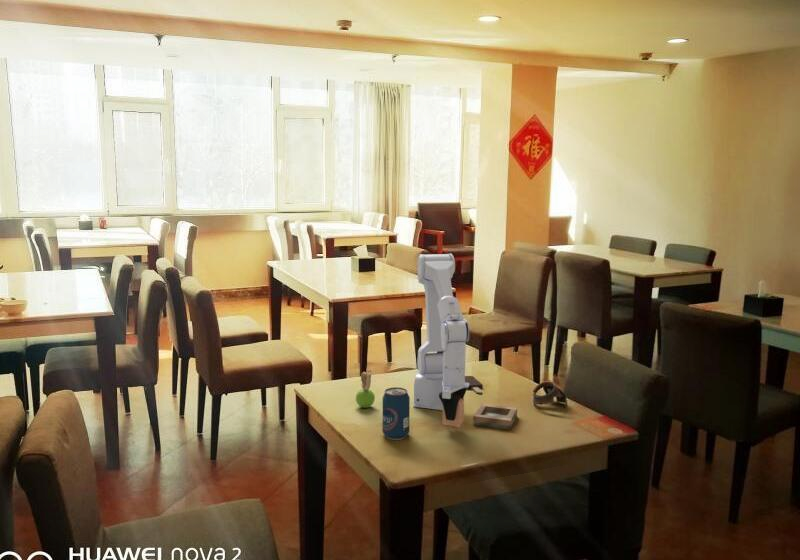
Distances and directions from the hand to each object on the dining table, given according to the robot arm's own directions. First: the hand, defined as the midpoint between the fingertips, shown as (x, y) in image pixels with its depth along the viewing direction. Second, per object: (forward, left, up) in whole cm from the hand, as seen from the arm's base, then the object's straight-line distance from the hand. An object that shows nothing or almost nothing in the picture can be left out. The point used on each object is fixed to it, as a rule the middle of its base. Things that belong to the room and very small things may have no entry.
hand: (453, 416), depth 176 cm
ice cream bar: (-4, +37, -5) cm, 38 cm away
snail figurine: (-28, +8, -4) cm, 29 cm away
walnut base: (+9, +11, -4) cm, 15 cm away
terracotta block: (0, 0, -2) cm, 2 cm away
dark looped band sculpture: (+21, +29, -4) cm, 36 cm away
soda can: (-13, -8, -4) cm, 16 cm away
